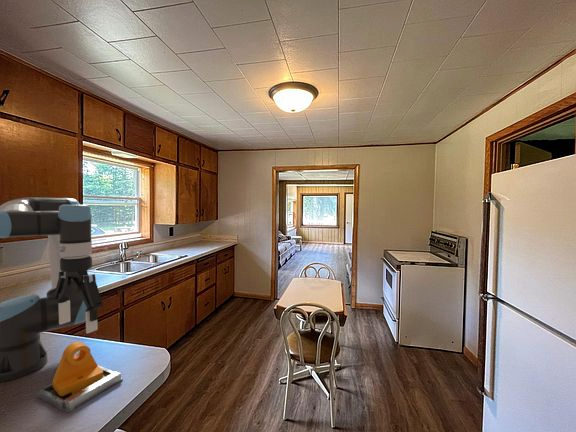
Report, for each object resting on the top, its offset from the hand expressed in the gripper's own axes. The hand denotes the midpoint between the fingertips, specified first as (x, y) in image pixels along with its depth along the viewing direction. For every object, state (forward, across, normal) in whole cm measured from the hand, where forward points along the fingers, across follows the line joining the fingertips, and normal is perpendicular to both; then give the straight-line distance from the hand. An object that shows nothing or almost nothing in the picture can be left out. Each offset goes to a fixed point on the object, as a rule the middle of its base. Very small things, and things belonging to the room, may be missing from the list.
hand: (77, 327), depth 81 cm
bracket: (+18, 0, 0) cm, 18 cm away
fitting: (+18, +1, 0) cm, 18 cm away
